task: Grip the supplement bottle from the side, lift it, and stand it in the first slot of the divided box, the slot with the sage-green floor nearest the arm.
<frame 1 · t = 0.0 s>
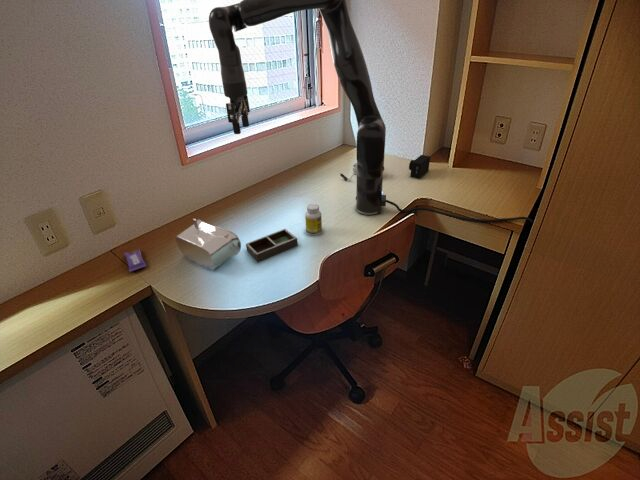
hand: (241, 130, 125), 29 cm above the table, tool pointing down, fingers open, 8 cm apart
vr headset: (212, 256, 113), on the table
digital camera: (418, 174, 159), on the table
snack package: (136, 262, 112), on the table
clip-on lamp: (361, 177, 159), on the table
divided box: (272, 248, 115), on the table
supplement bottle: (314, 232, 123), on the table
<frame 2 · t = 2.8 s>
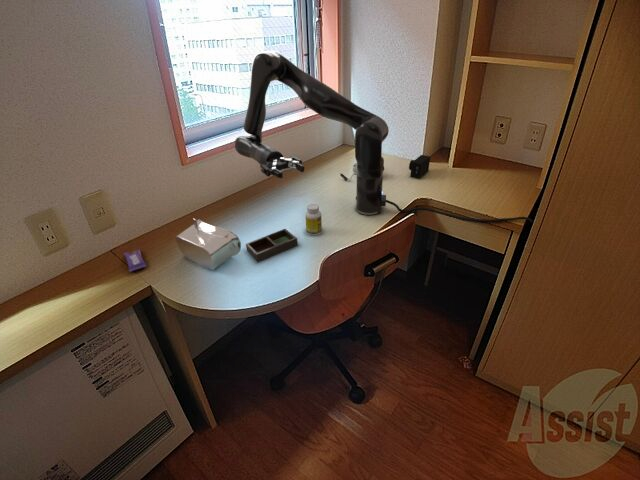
hand: (292, 172, 120), 18 cm above the table, tool horizontal, fingers open, 8 cm apart
nothing on the table moved.
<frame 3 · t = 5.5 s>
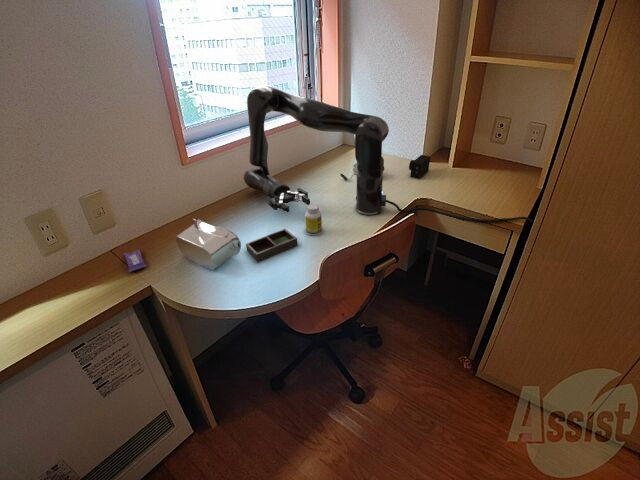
hand: (298, 206, 125), 6 cm above the table, tool horizontal, fingers open, 8 cm apart
nothing on the table moved.
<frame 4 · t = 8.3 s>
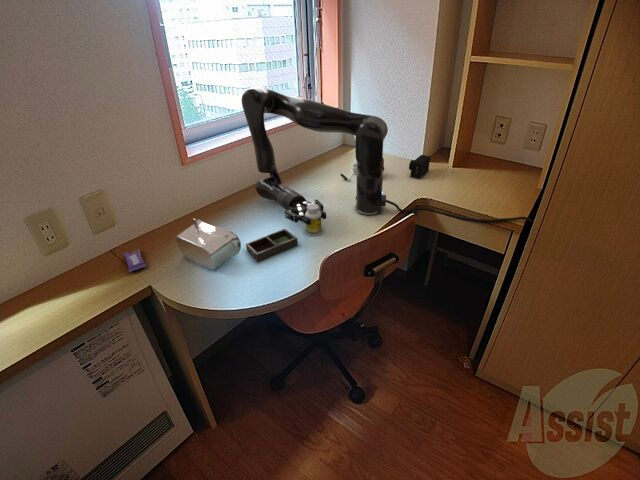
hand: (317, 219, 117), 6 cm above the table, tool horizontal, fingers closed on supplement bottle, 5 cm apart
supplement bottle: (314, 232, 123), on the table, touching gripper
everything else where it was.
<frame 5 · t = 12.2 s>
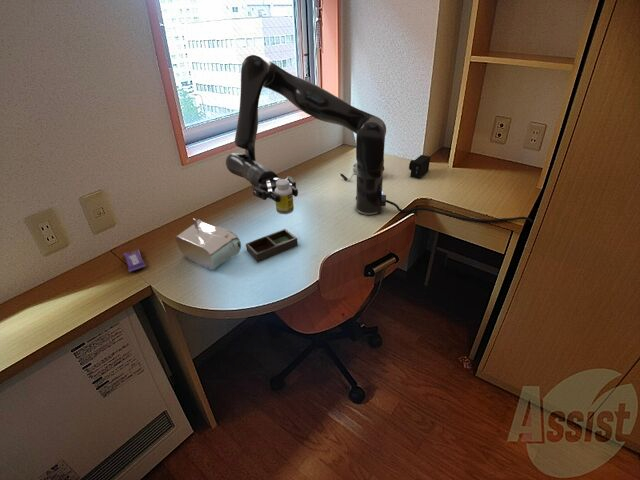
hand: (287, 196, 107), 18 cm above the table, tool horizontal, fingers closed on supplement bottle, 5 cm apart
supplement bottle: (285, 211, 112), point 11 cm above the table, touching gripper
everything else where it was.
when the fingers open (7 cm above the table, at t = 16.0 s): supplement bottle stays where it is, resting on divided box.
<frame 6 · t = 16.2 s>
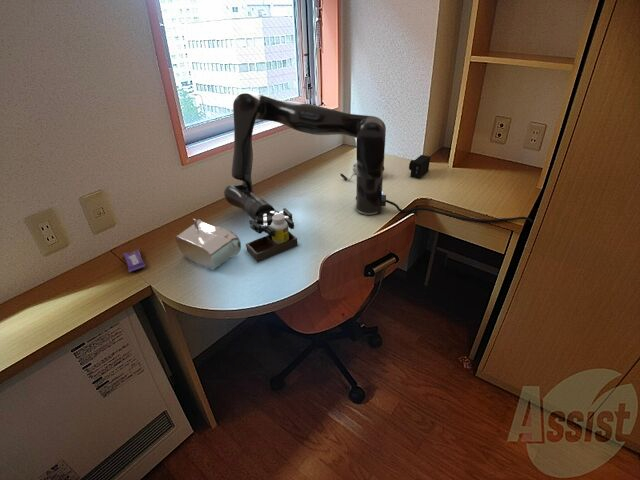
hand: (283, 230, 111), 7 cm above the table, tool horizontal, fingers open, 6 cm apart
supplement bottle: (281, 243, 116), point 1 cm above the table, touching divided box
everything else where it was.
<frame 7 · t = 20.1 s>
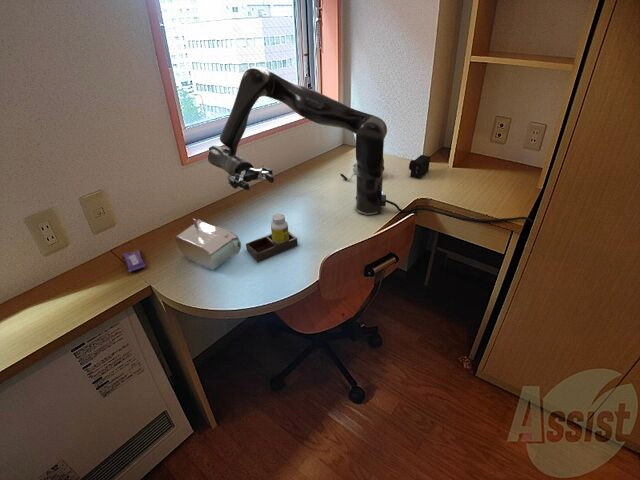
hand: (260, 183, 114), 18 cm above the table, tool horizontal, fingers open, 8 cm apart
nothing on the table moved.
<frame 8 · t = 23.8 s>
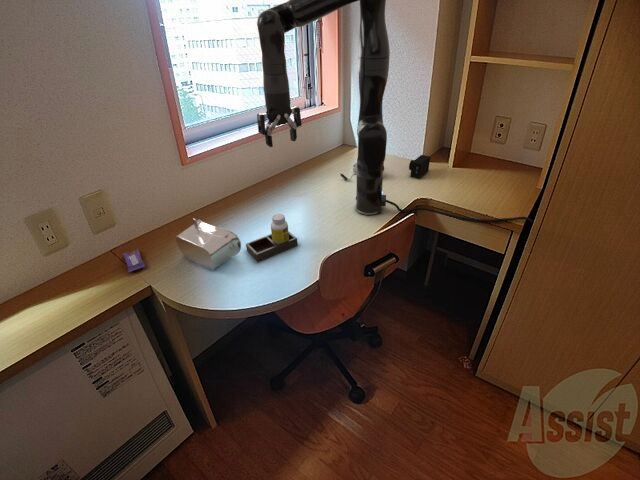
hand: (282, 143, 115), 28 cm above the table, tool pointing down, fingers open, 8 cm apart
nothing on the table moved.
at the end: supplement bottle 0.2 cm from the target spot in the divided box, point 0.5 cm above the divided box's base; supplement bottle tilted 0°; the gripper is holding nothing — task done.
